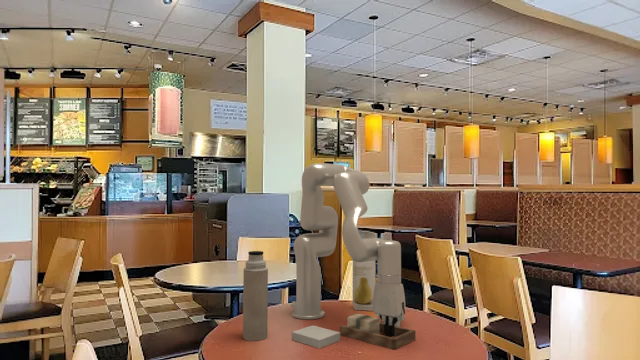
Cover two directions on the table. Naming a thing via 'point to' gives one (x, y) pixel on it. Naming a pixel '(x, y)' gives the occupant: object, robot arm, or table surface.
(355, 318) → the parcel
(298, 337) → the plate
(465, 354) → the table surface
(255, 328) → the thermos bottle
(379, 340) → the shelf bay
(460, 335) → the table surface
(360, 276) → the juice carton
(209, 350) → the table surface
